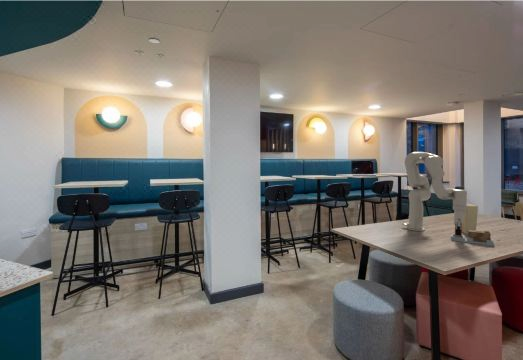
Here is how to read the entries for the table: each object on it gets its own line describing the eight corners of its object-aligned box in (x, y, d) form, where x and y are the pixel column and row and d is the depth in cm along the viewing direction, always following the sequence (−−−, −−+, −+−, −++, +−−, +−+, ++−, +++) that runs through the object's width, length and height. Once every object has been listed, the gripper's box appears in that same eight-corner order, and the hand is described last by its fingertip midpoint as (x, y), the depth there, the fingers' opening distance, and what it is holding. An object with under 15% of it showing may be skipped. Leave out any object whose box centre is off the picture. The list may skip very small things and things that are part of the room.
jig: (451, 240, 189) (451, 235, 189) (450, 237, 196) (451, 232, 196) (494, 246, 177) (494, 241, 176) (492, 242, 184) (492, 237, 184)
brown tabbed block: (467, 240, 186) (468, 229, 185) (467, 238, 190) (467, 228, 189) (490, 242, 180) (490, 232, 179) (489, 241, 184) (489, 230, 183)
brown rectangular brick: (454, 235, 190) (455, 225, 189) (454, 234, 193) (455, 224, 192) (461, 236, 187) (462, 225, 187) (461, 234, 191) (462, 224, 190)
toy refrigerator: (477, 234, 202) (479, 206, 201) (465, 234, 204) (467, 205, 202) (471, 231, 210) (473, 204, 208) (460, 231, 211) (462, 204, 210)
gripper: (452, 205, 198) (451, 231, 199) (452, 209, 184) (451, 236, 185) (465, 206, 194) (464, 232, 195) (467, 210, 180) (465, 238, 181)
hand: (458, 234), depth 190 cm, fingers closed on brown rectangular brick, 4 cm apart
